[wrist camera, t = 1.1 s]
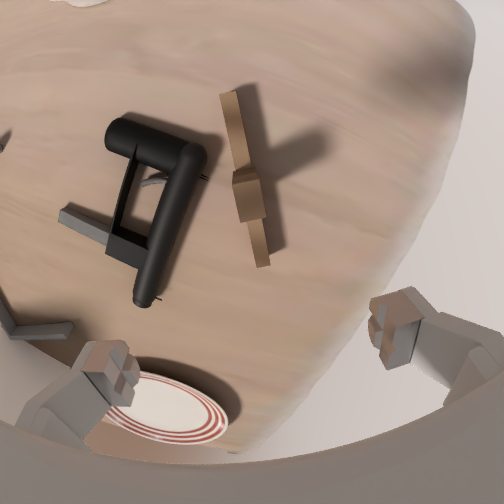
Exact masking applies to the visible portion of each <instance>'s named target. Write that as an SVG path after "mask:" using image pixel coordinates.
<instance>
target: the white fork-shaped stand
mask: <svg viewBox="0 0 504 504" xmlns="http://www.w3.org/2000/svg"><path fill="white" fill-rule="evenodd" d="M70 370H71V367H69V366H67V365H65V364H63V363H62V362H60V361H58V360H56V359H54V358H53V357H51V356H49V355H47V354H46V353H44V352H42V351H41V350H39V349H37V348H36V347H34V346H32V345H31V344H29V343H28V342H26V341H25V340H10V339H9V337H8V336H7V334H6V333H5V331H4V330H3V328H2V327H1V325H0V420H2V421H4V422H6V423H8V424H10V425H12V426H15V424H16V422H17V420H18V418H19V416H20V414H21V412H22V410H23V408H24V406H25V404H26V402H27V401H29V400H30V399H31V398H32V397H34V396H35V395H36V394H38V393H39V392H40V391H41V390H43V389H44V388H45V387H47V386H48V385H49V384H51V383H52V382H53V381H55V380H56V379H57V378H58V377H60V376H61V375H62V374H64V373H65V372H66V371H70Z"/></svg>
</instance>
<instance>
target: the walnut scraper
mask: <svg viewBox="0 0 504 504" xmlns="http://www.w3.org/2000/svg"><path fill="white" fill-rule="evenodd" d="M219 95H220V100H221V104H222V109H223V114H224V118H225V123H226V127H227V132H228V137H229V141H230V146H231V151H232V155H233V160H234V164H235V169H236V171H233V179H232V187H233V192H234V196H235V201H236V205H237V210H238V214H239V219H240V223H242V222H247V225H248V229H249V234H250V239H251V243H252V248H253V253H254V257H255V262H256V267H257V268H259V267H265V266H270V259H269V254H268V249H267V243H266V238H265V233H264V227H263V222H262V218H267V217H266V212H265V206H264V201H263V196H262V191H261V185H260V180H259V177H258V175H257V172H256V170H255V167H253V168H252V166H251V161H250V156H249V152H248V147H247V142H246V137H245V132H244V127H243V123H242V118H241V113H240V108H239V104H238V99H237V94H236V91H233V92H228V93H223V94H219Z"/></svg>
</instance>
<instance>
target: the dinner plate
mask: <svg viewBox="0 0 504 504" xmlns="http://www.w3.org/2000/svg"><path fill="white" fill-rule="evenodd" d="M133 389H134V391H135V395H134V398H133V401H132V404H131V407H117V406H111V409H110V410H109V411H108V412H107V413H106V414H105V415H106V416H107V417H108V418H109V419H111V420H112V421H113V422H115V423H116V424H118V425H120V426H121V427H123V428H125V429H127V430H129V431H131V432H133V433H135V434H138V435H140V436H143V437H146V438H149V439H152V440H156V441H161V442H166V443H172V444H199V443H205V442H208V441H211V440H214V439H216V438H218V437H219V436H221V435H222V434H223V433H224V432H225V431H226V429H227V427H228V417H227V415H226V413H225V411H224V410H223V409H222V408H221V406H220V405H219V404H217V403H216V402H215V401H214V400H212V399H211V398H210V397H208V396H207V395H205V394H204V393H202V392H200V391H198V390H196V389H194V388H192V387H190V386H188V385H186V384H183V383H181V382H178V381H176V380H173V379H170V378H167V377H164V376H161V375H157V374H153V373H149V372H145V371H140V379H139V382H138V384H136V385H135V386H134V387H133Z"/></svg>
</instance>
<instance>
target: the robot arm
mask: <svg viewBox="0 0 504 504" xmlns="http://www.w3.org/2000/svg"><path fill="white" fill-rule="evenodd" d="M49 1H52V2H54V1H65V2H67V3H69V4H70V5H73V6H78V7H85V6H92V5H96V4H99V3H102V2H105V1H108V0H49ZM369 309H370V311H371V312H372V316H371V317H370V319H369V320H368V330H369V336H370V339H371V342H372V344H373V346H374V347H376V348H378V349H380V354H379V357H380V359H381V361H382V363H383V364H384V366H385V368H386V370H390V369H393V368H396V367H399V366H402V365H405V364H408V363H410V364H411V365H412V366H414V367H415V368H417V369H418V370H420V371H422V372H423V373H425V374H427V375H428V376H430V377H431V378H433V379H435V380H436V381H438V382H440V383H441V384H443V385H444V386H446V387H447V388H449V389H451V390H450V392H449V393H448V395H447V397H446V399H445V401H444V403H443V406H444V407H442V408H440V409H438V410H436V411H434V412H432V413H430V414H428V415H426V416H424V417H422V418H419V419H417V420H415V421H413V422H410V423H408V424H405V425H403V426H401V427H398V428H396V429H393V430H390V431H388V432H385V433H382V434H379V435H377V436H374V437H370V438H367V439H364V440H361V441H358V442H354V443H351V444H347V445H344V446H340V447H336V448H332V449H328V450H324V451H319V452H315V453H310V454H305V455H299V456H294V457H288V458H281V459H274V460H266V461H257V462H247V463H230V464H177V463H162V462H151V461H142V460H134V459H128V458H120V457H115V456H110V455H105V454H100V453H95V452H91V451H92V449H91V447H90V446H89V445H88V444H86V443H85V442H84V441H83V439H84V438H85V437H86V436H87V435H88V434H89V433H90V431H91V430H92V429H93V428H94V427H95V426H96V424H97V423H98V422H99V421H100V420H101V419H102V418H103V417H104V415H105V414H106V413H107V412H108V411H109V410H110V409H111V406H117V407H131V404H132V401H133V398H134V395H135V391H134V389H133V387H134V386H135V385H136V384H138V382H139V379H140V367H139V364H138V362H137V360H136V359H135V357H133V356H132V355H130V354H129V347H128V345H127V344H126V342H125V341H123V340H104V341H89V342H87V343H86V344H85V345H84V347H83V349H82V350H81V352H80V354H79V356H78V357H77V359H76V361H75V363H74V364H73V366H72V368H71V370H70V371H66V372H65V373H64V374H62V375H61V376H60V377H58V378H57V379H56V380H55V381H53V382H52V383H51V384H49V385H48V386H47V387H45V388H44V389H43V390H41V391H40V392H39V393H38V394H36V395H35V396H34V397H32V398H31V399H30V400H29V401H27V402H26V404H25V406H24V408H23V410H22V412H21V414H20V416H19V418H18V420H17V422H16V424H15V426H12V425H10V424H8V423H6V422H4V421H2V420H0V504H504V337H503V336H502V335H501V333H500V332H497V331H494V330H491V329H488V328H486V327H483V326H480V325H477V324H475V323H472V322H469V321H466V320H463V319H461V318H458V317H455V316H452V315H449V314H446V313H444V312H440V313H438V312H437V311H436V310H435V309H434V308H433V307H432V306H431V304H430V303H429V302H428V301H427V300H426V299H425V298H424V297H423V296H422V295H421V294H420V293H419V292H418V291H417V290H416V288H414V287H412V286H410V287H407V288H404V289H401V290H398V291H396V292H393V293H389V294H385V295H382V296H378V297H374V298H371V301H370V306H369Z"/></svg>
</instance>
